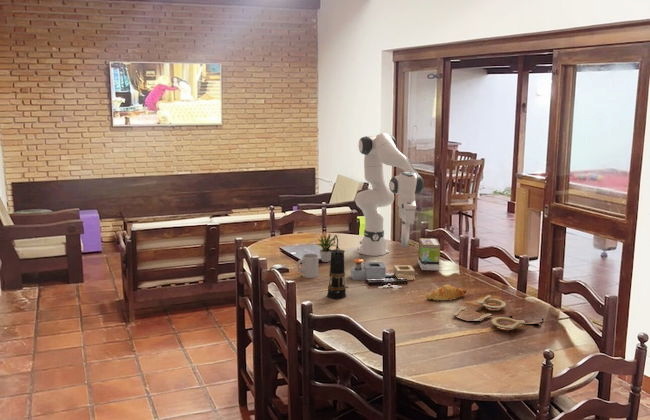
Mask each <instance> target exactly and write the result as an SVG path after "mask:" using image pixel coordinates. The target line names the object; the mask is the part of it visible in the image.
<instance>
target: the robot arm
mask: <svg viewBox="0 0 650 420" xmlns="http://www.w3.org/2000/svg"><path fill="white" fill-rule="evenodd" d="M358 151H359V153H360V154H362V155H363V156H364V159H363V168H364V169H363V170H364V173H363V174H364V179H365V181H366V182H367V183H368V184H370V185H371V187H372V189H365V190H362V191H359V192H358V193H356V195H355V198H354V200H355V202H354V203H355V205H356V206H357V207H358V208H359V209H360V210H361V211H362V214H363V217H364V230H363V237H362V240H359V246H358V249H357V253H358V254H362V255H366V256H373V257H374V256H375V257H376V256H384V255H386V254H389V252H390V251H389V249H387V238H385V237H384V236H385V230H384V224H385V223H384V219H385V218H384V217H383V216H382V215H381V214H379V213H378V209H377V208H382V207H383V208H384V207H387V206H391V205H392V204H393V203H394V201H395V195H398V197H397V207H398V217H399V218H400V219H401V221H402V220H403V221H404V222H405V230H406V231H408V230H409V231H410V229H409V225H414V223H415V219H416V218H415V216H416V210H417V204H416V195H419V194H421V193H422V192H423V190H424V189H425V181H424V179H423V177H422V176H421V175H420V174H419V173H418V172H417V170H416V169H415V166H414V165H413V164H412V162H411V161H410V160H409V158H408V157H407V156H406V155H405V154H403V153H402V152H401V151H400V150H399V149H398V148H397V141H396V138H395V137H394V135H391V134H388V133H385V132H380V133H379V134H376V135H370V136H367V135H366V136H363V137H360V138H359V141H358ZM383 165H386V166H391V167H395V168H399V169H401V170H402V171H401V172H400V173H399V174H397V175H395V176H393V177H392V178H390V180H389V185H387V184H386V181H385V179H384V176H385V175H384V166H383Z"/></svg>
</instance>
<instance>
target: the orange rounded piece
mask: <svg viewBox="0 0 650 420" xmlns="http://www.w3.org/2000/svg"><path fill="white" fill-rule="evenodd" d="M353 263H355V267H356V269H355V270H361V267H362V263H363V264H364V259H363V258H354V259H353Z"/></svg>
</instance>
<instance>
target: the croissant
mask: <svg viewBox="0 0 650 420" xmlns="http://www.w3.org/2000/svg"><path fill="white" fill-rule="evenodd" d="M466 293H467V289H463V288H459V287H457V286H454V285H453V284H449V283H447V284H444V285H443V284H442V285H441V286H440V287H437V288H436V289H435V290H433V291H430V292H429V293H427V294H426V295H425V297H426V299H428V300H431V299H433V300H432V301H439V300H449V301H451V300H450V299H454V298H457V297H459V298H461V297H463V296H465V294H466ZM460 296H461V297H460ZM457 299H458V298H457Z"/></svg>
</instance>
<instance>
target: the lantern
mask: <svg viewBox="0 0 650 420" xmlns="http://www.w3.org/2000/svg"><path fill="white" fill-rule="evenodd" d="M333 238H334V240H333V244H334V245H335V246H336V247H335V249H331V251H330V252H331V260H330V267H329V274H328V276H329V284H328V287H327V294H326V297H327V298H328V299H332V300H341V299H345V298H346V297H347V294H346V291H347V290H346V289H348V288H349V286H346V285H345V283H346V282H345V281H346V280H345V276H346V272H345V252H346V251H345V250H343V249H340V248H339V238H338V235H337V234H335V235H334V237H333ZM335 240H336V241H335ZM335 243H336V244H335Z"/></svg>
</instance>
